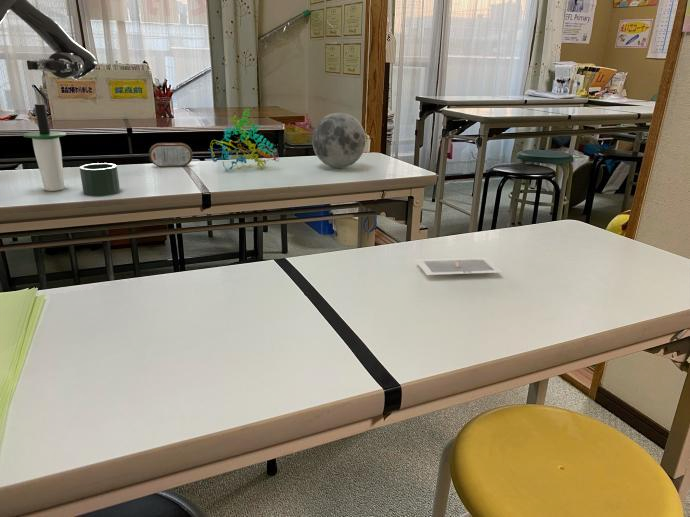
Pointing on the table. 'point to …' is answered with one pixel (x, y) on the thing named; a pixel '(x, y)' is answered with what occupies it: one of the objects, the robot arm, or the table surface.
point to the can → (99, 179)
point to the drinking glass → (49, 163)
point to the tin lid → (43, 126)
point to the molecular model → (245, 143)
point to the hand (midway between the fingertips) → (47, 66)
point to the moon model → (339, 140)
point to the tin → (170, 154)
